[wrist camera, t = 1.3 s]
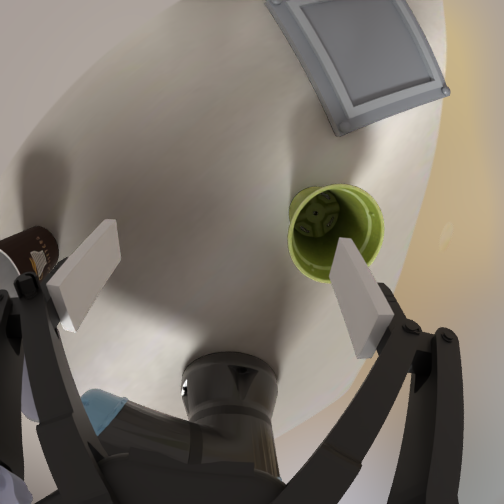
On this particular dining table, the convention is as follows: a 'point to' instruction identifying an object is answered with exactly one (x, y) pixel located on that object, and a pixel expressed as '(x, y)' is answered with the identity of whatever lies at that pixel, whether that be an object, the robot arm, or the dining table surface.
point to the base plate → (361, 57)
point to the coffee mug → (27, 256)
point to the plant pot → (332, 227)
